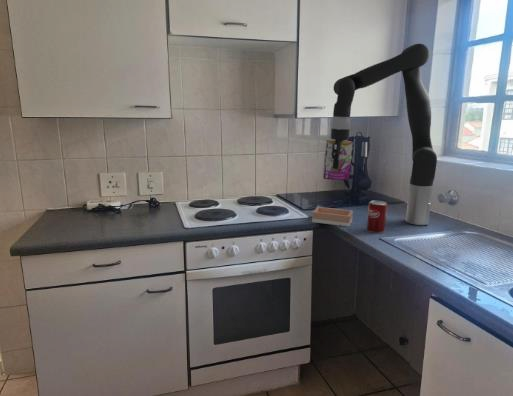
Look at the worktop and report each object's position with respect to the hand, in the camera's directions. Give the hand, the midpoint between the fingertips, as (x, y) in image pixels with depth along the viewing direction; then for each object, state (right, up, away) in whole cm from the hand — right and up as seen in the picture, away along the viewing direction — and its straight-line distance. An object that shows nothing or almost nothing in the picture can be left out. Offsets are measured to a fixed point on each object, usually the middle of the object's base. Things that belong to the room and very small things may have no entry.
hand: (337, 167), depth 164 cm
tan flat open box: (-1, -24, +6) cm, 24 cm away
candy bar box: (0, -5, +1) cm, 5 cm away
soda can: (+15, -27, -6) cm, 31 cm away
